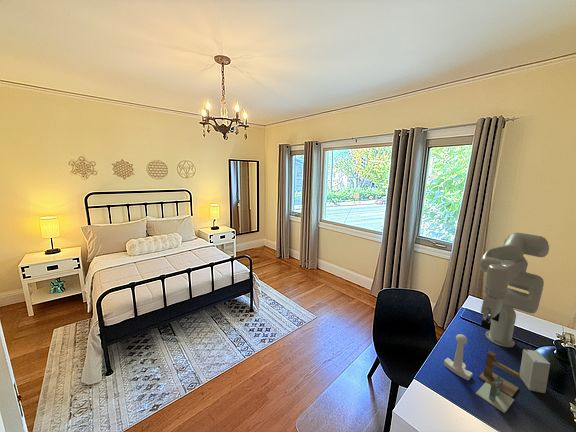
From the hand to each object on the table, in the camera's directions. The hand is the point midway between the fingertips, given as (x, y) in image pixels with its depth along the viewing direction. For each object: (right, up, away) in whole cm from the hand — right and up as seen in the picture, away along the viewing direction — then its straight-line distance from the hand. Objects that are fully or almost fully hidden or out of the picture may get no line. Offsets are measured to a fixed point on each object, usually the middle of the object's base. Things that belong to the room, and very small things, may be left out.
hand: (489, 324), depth 113 cm
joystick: (-11, -25, +5) cm, 28 cm away
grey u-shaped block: (-5, -27, -9) cm, 29 cm away
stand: (+2, -26, -2) cm, 26 cm away
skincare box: (+16, -26, -3) cm, 31 cm away
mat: (-5, -28, -9) cm, 30 cm away
